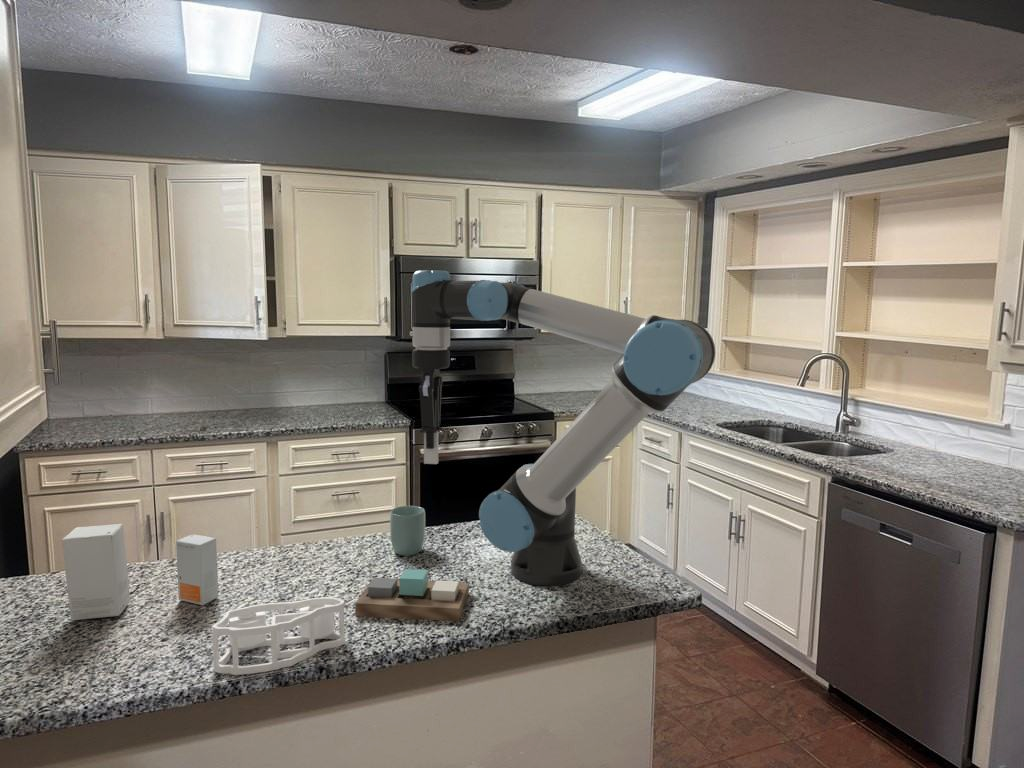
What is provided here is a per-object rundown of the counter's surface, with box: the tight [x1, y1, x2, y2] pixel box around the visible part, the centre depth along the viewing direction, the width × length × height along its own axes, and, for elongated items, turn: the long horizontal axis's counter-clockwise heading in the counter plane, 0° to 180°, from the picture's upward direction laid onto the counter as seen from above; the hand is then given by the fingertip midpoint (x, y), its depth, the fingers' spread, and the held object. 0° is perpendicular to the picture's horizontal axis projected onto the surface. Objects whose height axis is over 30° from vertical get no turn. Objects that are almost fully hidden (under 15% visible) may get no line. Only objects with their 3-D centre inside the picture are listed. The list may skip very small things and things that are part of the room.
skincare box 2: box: [175, 534, 219, 606], centre depth 128 cm, size 6×4×12 cm
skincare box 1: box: [61, 523, 131, 621], centre depth 122 cm, size 8×7×16 cm
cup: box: [389, 505, 426, 557], centre depth 153 cm, size 8×8×10 cm
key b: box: [398, 568, 429, 596], centre depth 126 cm, size 4×4×3 cm
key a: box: [431, 580, 460, 601], centre depth 126 cm, size 4×4×3 cm
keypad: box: [354, 578, 470, 622], centre depth 127 cm, size 19×11×2 cm, turn 85°
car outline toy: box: [211, 596, 346, 676], centre depth 109 cm, size 20×11×7 cm, turn 107°
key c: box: [368, 577, 398, 598], centre depth 127 cm, size 4×4×3 cm
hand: (431, 462), depth 137 cm, fingers closed
